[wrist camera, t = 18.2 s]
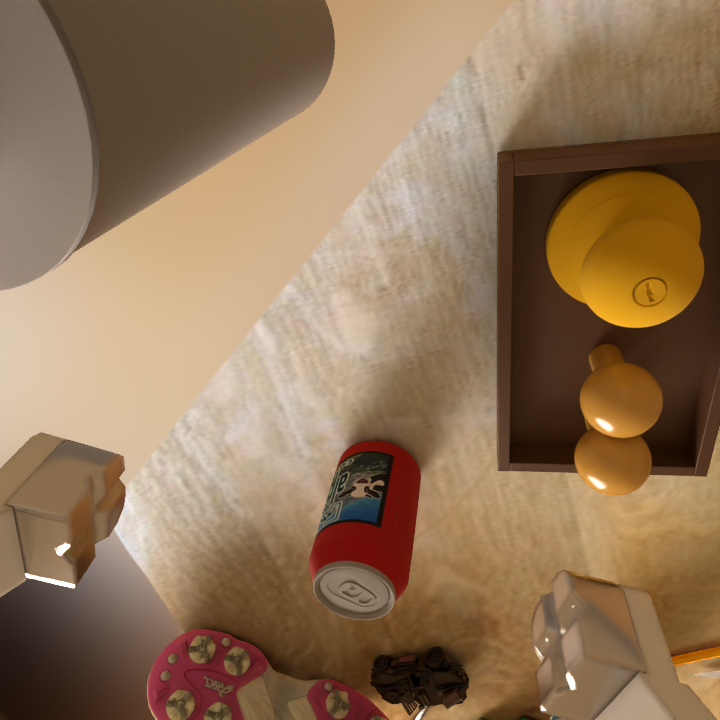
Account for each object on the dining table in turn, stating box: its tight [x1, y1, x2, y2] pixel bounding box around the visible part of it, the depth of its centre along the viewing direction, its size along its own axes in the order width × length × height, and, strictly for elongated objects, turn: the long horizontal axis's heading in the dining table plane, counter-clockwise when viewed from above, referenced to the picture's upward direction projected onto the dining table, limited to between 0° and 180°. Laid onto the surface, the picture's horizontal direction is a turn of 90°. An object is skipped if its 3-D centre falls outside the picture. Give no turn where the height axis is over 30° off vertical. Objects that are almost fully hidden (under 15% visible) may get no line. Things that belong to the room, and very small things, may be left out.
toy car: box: [370, 647, 470, 715], centre depth 58 cm, size 6×12×4 cm, turn 116°
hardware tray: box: [497, 132, 720, 476], centre depth 35 cm, size 14×22×3 cm, turn 7°
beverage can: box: [309, 441, 421, 620], centre depth 41 cm, size 7×7×12 cm
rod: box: [414, 706, 430, 720], centre depth 64 cm, size 1×19×1 cm, turn 167°
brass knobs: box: [574, 344, 663, 495], centre depth 35 cm, size 4×9×7 cm, turn 7°
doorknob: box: [546, 167, 704, 328], centre depth 30 cm, size 8×8×8 cm
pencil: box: [671, 647, 720, 666], centre depth 51 cm, size 1×8×1 cm
